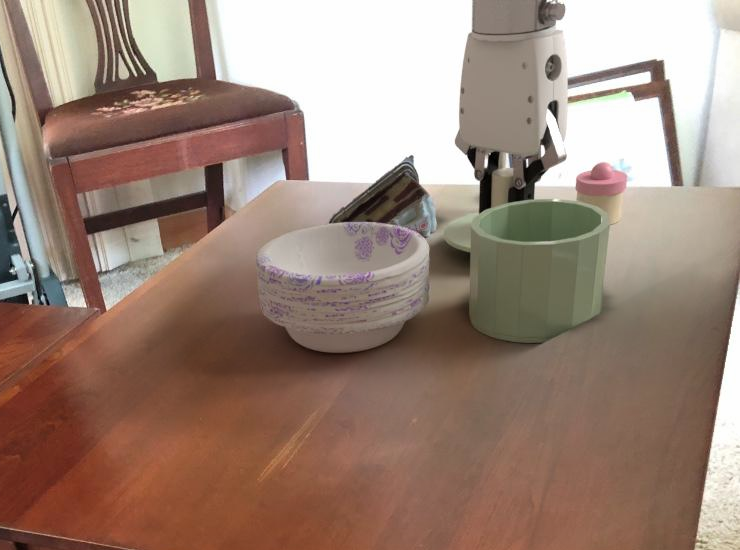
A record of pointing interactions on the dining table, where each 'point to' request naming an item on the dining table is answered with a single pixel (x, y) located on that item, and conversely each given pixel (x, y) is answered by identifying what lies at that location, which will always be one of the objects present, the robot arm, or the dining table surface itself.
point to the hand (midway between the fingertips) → (505, 220)
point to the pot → (536, 268)
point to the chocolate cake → (393, 202)
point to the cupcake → (603, 189)
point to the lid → (461, 227)
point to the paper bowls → (344, 283)
